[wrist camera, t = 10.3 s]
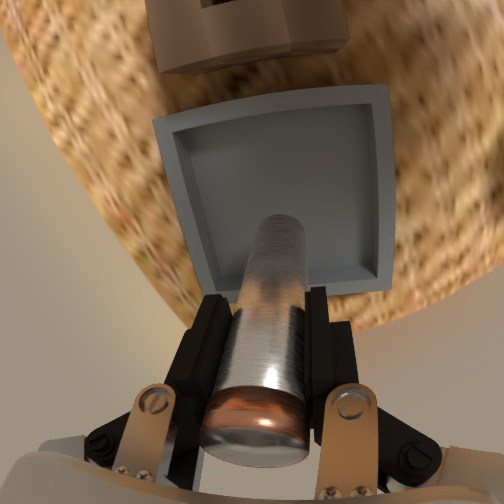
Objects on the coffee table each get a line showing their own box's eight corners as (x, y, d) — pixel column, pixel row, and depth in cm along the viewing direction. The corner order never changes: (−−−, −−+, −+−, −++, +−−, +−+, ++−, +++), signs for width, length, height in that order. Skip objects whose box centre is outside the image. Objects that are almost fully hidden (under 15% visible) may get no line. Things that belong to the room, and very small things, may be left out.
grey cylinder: (303, 210, 16) (306, 426, 6) (309, 257, 17) (310, 467, 7) (250, 216, 17) (181, 421, 6) (259, 261, 18) (215, 464, 8)
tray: (375, 84, 17) (387, 84, 15) (383, 268, 24) (391, 289, 22) (169, 115, 20) (152, 119, 18) (214, 282, 28) (205, 303, 25)
